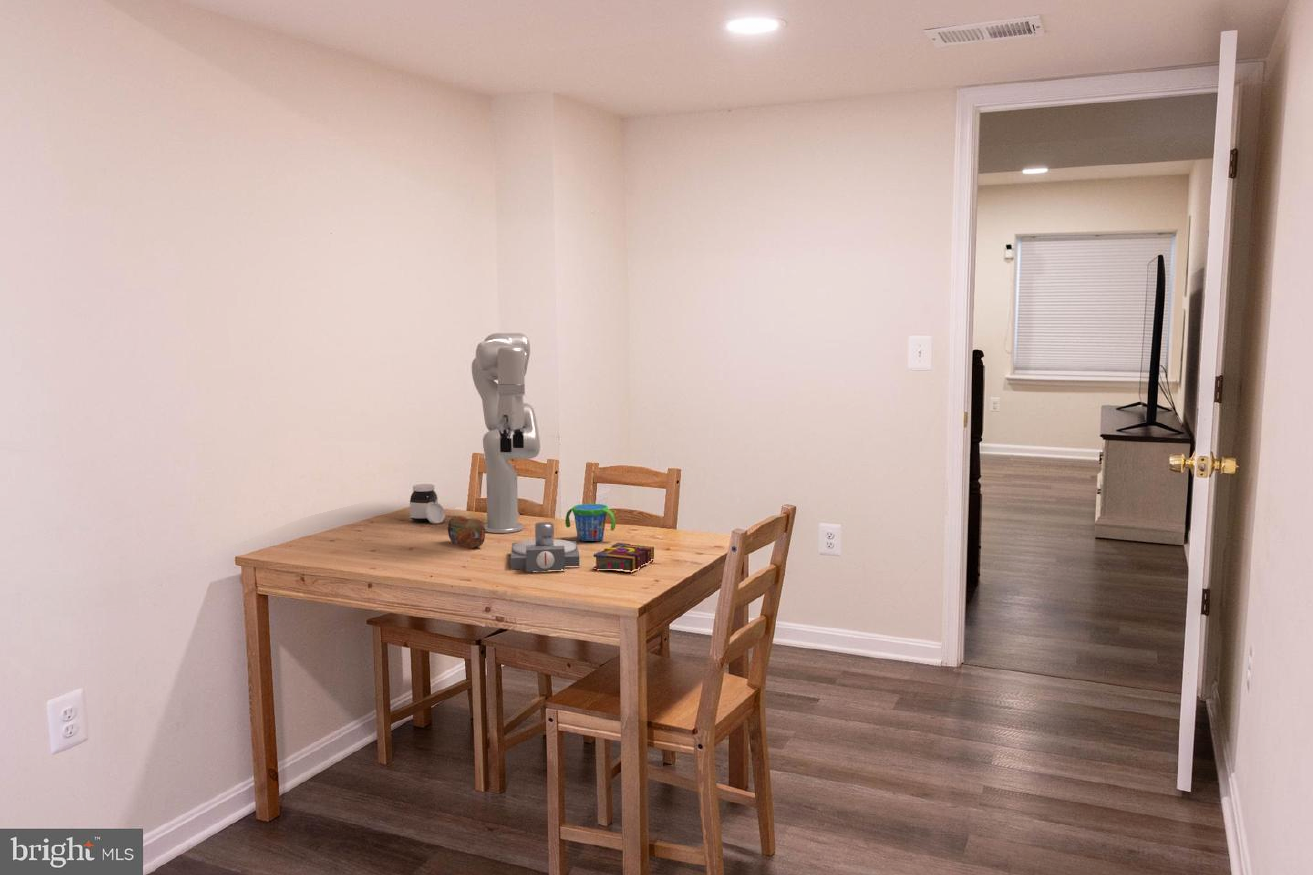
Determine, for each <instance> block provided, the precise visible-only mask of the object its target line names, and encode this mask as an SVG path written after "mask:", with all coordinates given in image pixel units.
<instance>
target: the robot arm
mask: <svg viewBox="0 0 1313 875" xmlns="http://www.w3.org/2000/svg"><path fill="white" fill-rule="evenodd" d="M530 354H531V344H530V340H529V338H528V336H526V334H524V333H520V332H519V333H517V332H511V333H510V332H505V333H504V332H498V333H491V334H489V335H488V336H486V337H485V339H484V341H481V342H479V343H478V344H477V347H476V349H475V357H474V359H473V360H472V363H471V375H472V380H473V384H474V387H475V389H476V391H477V392H478V395H479V397H480V398H481V404H482V411H483V416H484V417H483V418H484V424H485V427H486V429H487V430H488V431H486V433H485V434H484V435H483V436H482V437H483V438H482V447H483V453H484V459H485V461H484V462H485V470H486V471H485V473H486V516H487V517H486V521H487V523H485V524H483V525H484V528H485V533H491V534H492V533H493V534H510V533H516V532H520V531H522V530H523V529H524V525H523V524H522V523H521V522H519V518H520V512H519V510H518V509H519V508H518V507H519V506H518V505H519V504H518V503H519V502H518V474H517V473H518V472H517V470H516V469H515V467H514V466H513V465H512V464H511V463H510V462H509V461H511V460H526V459H534V458H536V457H538V455H539V454H540V451H541V443H540V436H539V435H540V434H539V429H538V424H537V417H536V414H535V409H534V408H533V406H532V405H531V404H529V403H527V402H526V403H525V402H524V396H525V395H526V394H525V393H526V392H525V391H526V390H525V388H526V385H525V383H526V382H525V379H526V378H525V377H526V374H527V373H528V372H527V371H528V366H529V360H530ZM496 381H497V382H496Z"/></svg>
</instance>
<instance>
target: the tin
mask: <svg viewBox="0 0 1313 875" xmlns="http://www.w3.org/2000/svg"><path fill="white" fill-rule="evenodd" d="M484 525H485V524H484V523H483V521H481V520H480V519H478V518H477V519H476V518H473V517H467V516H465V515H464V516H463V515H458V516H457V515H456V516H455V515H454V516H452V517H451V518H450V520H449V522H448V525H447V534H448V537H449V540H450V541H451V543H452V544H454V545H456V544H457V546H461V547H465V548H469V549H473V548H479V547H481V546H482V545H483V544H484V543H485V538H486V531H485V528H484Z"/></svg>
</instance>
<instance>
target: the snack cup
mask: <svg viewBox="0 0 1313 875" xmlns="http://www.w3.org/2000/svg"><path fill="white" fill-rule="evenodd" d="M571 513H573V516H574V522H575V529H576V534H577V539H578V540H579V541H580V540H581V541H580V542H583V541H596V542H599V541H598V540H600V541H602V540H603V539H604V534H605V528H606V518H607V514H608V515H609V517H610V520H611V525H610V531H611V532H613V531H614V530H615V529H616V523H617V522H616V518H615V514H614V513H613V511H612V510H610V509H609V508H608V505H606V504H602V503H583V504H582V503H581V504H577V505H574V506H572V508H570V509H568V510H567V512H566V515H565V520H564V521H565V527H566V528H570V527H571V521H570V516H571Z"/></svg>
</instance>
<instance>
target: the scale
mask: <svg viewBox="0 0 1313 875" xmlns="http://www.w3.org/2000/svg"><path fill="white" fill-rule="evenodd" d="M577 543H578V542H577V541H575V540H574V541H573V540H572V541H570V540H564V539H555V538H554V546H535V539H528V540H524V541H520V542H512V543H511V550H510V570H526V572H533V571H548V570H561V569H563V570H564V569H565V570H566V568H565V566H579V567H580V552H579V548H578V544H577Z"/></svg>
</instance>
